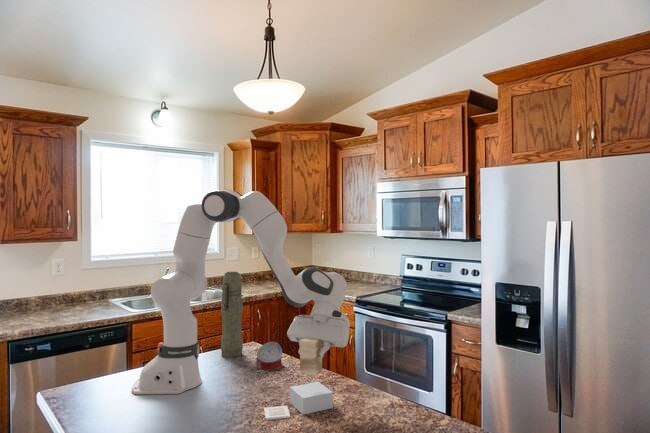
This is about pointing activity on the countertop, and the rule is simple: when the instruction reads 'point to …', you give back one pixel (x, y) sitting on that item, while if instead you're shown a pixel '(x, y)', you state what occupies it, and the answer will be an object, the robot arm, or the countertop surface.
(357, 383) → the countertop surface
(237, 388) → the countertop surface
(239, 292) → the thermos
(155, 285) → the robot arm
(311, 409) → the grey-blue block
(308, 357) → the maple block
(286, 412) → the picture tile
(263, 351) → the canned food
